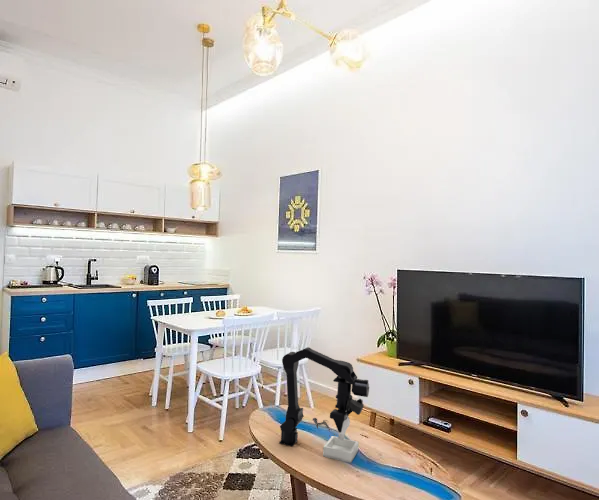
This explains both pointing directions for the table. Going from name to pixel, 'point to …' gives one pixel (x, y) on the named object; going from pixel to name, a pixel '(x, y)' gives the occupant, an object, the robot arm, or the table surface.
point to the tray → (340, 449)
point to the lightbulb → (344, 429)
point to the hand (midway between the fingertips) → (341, 429)
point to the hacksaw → (320, 423)
